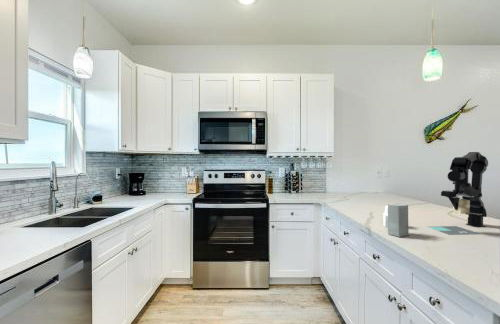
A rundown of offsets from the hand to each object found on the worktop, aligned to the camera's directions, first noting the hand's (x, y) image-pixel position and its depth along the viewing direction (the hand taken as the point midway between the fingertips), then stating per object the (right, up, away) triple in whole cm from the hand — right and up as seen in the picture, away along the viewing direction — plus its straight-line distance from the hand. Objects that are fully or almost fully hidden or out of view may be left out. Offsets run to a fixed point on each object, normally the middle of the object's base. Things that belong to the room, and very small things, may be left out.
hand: (460, 209), depth 143 cm
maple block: (0, -2, 0) cm, 2 cm away
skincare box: (-36, -12, -4) cm, 39 cm away
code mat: (-2, -12, +3) cm, 13 cm away
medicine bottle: (-31, -12, +12) cm, 36 cm away
